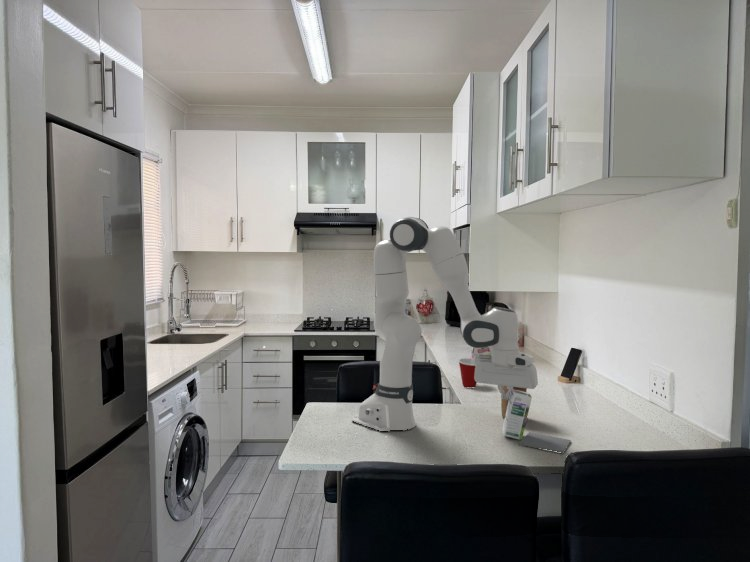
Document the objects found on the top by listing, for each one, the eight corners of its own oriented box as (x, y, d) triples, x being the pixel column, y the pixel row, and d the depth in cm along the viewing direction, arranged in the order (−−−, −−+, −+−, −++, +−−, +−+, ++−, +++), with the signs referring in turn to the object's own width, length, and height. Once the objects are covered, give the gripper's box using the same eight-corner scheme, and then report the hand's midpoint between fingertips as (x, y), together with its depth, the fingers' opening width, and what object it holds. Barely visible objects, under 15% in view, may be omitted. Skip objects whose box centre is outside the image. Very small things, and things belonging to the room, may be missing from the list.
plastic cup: (470, 391, 215) (470, 364, 214) (452, 385, 224) (453, 359, 223) (487, 387, 221) (487, 361, 221) (469, 382, 230) (469, 357, 229)
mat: (519, 445, 152) (519, 443, 152) (529, 433, 163) (529, 432, 163) (562, 454, 146) (563, 452, 146) (570, 441, 156) (570, 440, 156)
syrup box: (503, 436, 157) (514, 393, 156) (501, 429, 163) (511, 387, 162) (521, 440, 157) (532, 397, 155) (518, 433, 162) (529, 391, 161)
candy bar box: (472, 372, 251) (473, 340, 250) (470, 370, 256) (471, 339, 255) (494, 372, 251) (495, 340, 250) (492, 370, 256) (492, 339, 255)
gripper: (471, 356, 163) (471, 397, 164) (533, 361, 153) (534, 405, 153) (477, 352, 169) (478, 392, 169) (538, 357, 158) (539, 400, 159)
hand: (505, 398), depth 161 cm, fingers closed
